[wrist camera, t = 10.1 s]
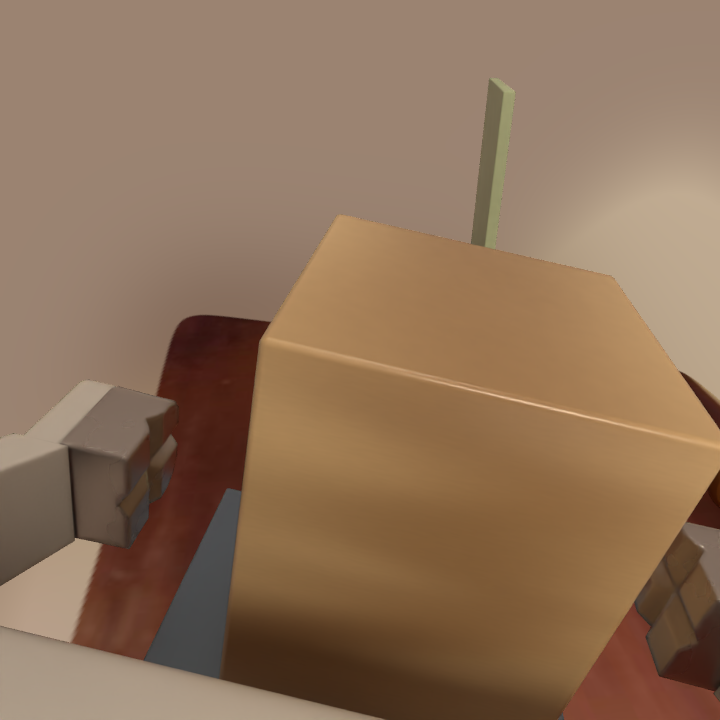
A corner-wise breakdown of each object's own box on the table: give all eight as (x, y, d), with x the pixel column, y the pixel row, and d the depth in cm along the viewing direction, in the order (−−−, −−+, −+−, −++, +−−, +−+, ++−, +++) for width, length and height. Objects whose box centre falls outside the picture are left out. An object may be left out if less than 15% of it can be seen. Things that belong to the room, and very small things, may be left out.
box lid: (498, 78, 43) (489, 78, 44) (515, 91, 33) (503, 91, 33) (477, 259, 50) (469, 259, 50) (485, 318, 40) (475, 318, 40)
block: (206, 773, 9) (257, 337, 5) (276, 556, 13) (336, 212, 9) (481, 840, 9) (738, 449, 5) (471, 603, 13) (614, 274, 9)
